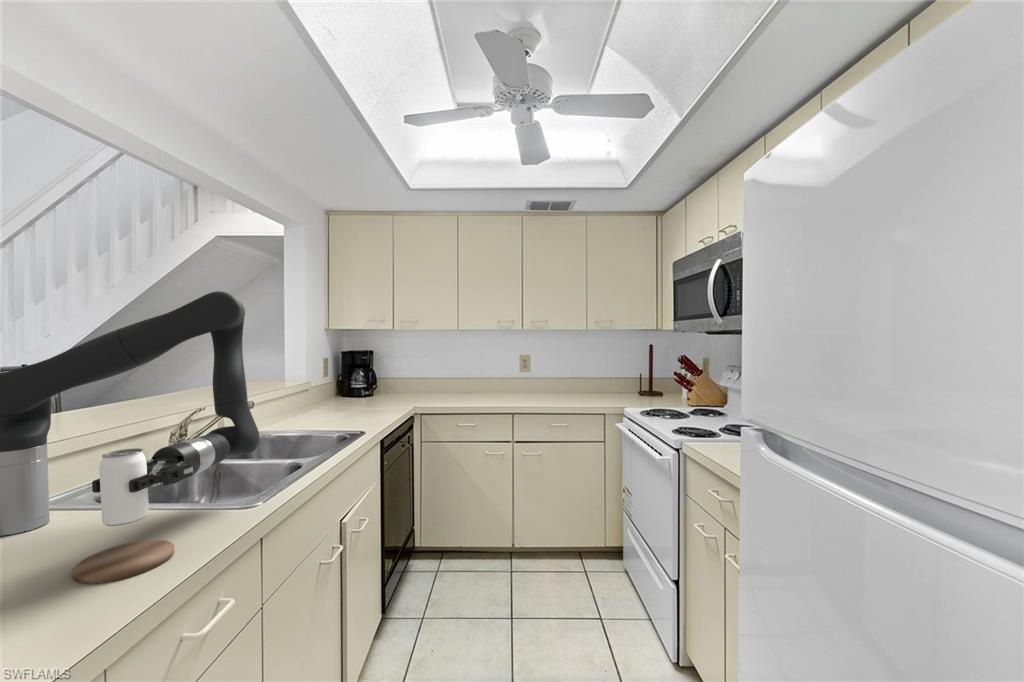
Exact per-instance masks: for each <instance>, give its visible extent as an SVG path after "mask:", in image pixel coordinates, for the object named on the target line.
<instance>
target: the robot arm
mask: <svg viewBox="0 0 1024 682" xmlns="http://www.w3.org/2000/svg"><path fill="white" fill-rule="evenodd" d="M245 317H246V310H245V307H244V305H243V303H242V302H241V301H240V300H239V299H238V298H237V297H236V296H234V295H233V294H232V293H230V292H226V291H212V292H209V293H206V294H204V295H202V296H200V297H198V298H197V299H194V300H192V301H190V302H188V303H186V304H184V305H182V306H180V307H177V308H176V309H174V310H171V311H169V312H166V313H163V314H160V315H157V316H153V317H151V318H147V319H143V320H140V321H138V322H135V323H132V324H129V325H125V326H124V327H121V328H118V329H115V330H112V331H110V332H107V333H105V334H104V333H103V334H101V335H99V336H97V337H95V338H92V339H90V340H88V341H85V342H83V343H80V344H78V345H76V346H73V347H72V348H70V349H66V350H65V351H62V352H61V353H59V354H57V355H55V356H53V357H49V358H47V359H44V360H41V361H38V362H36V363H32V364H30V365H26V366H22V367H19V368H15V369H11V370H8V371H5V372H0V536H1V537H2V536H8V535H9V536H10V535H15V534H19V533H24V531H25V532H28V531H32V530H35V529H38V528H40V527H43V526H45V525H46V524H48V523H49V522H50V519H51V518H50V488H49V485H50V484H49V459H48V435H49V431H50V428H51V425H52V424H51V423H52V397H53V396H56V395H58V394H60V393H62V392H65V391H68V390H70V389H74V388H78V387H80V386H84V385H88V384H91V383H94V382H95V383H96V382H98V381H103V380H105V379H108V378H111V377H114V376H117V375H120V374H123V373H124V374H125V373H126V372H128V371H130V370H134V369H136V368H139V367H140V366H144V365H146V364H148V363H151V361H154V360H155V359H157V358H159V357H160V356H163V355H164V354H166V353H167V352H169V351H171V350H172V349H173V348H175V347H177V346H178V345H181V344H182V343H184V342H186V341H188V340H190V339H193V338H196V337H201V336H202V335H206V334H209V333H210V335H211V339H212V345H213V346H212V347H213V368H212V369H213V370H212V393H213V404H214V411H215V414H216V416H217V417H220V418H226V419H230V420H231V422H232V423H233V425H232V426H222V427H218V428H214V429H212V430H211V431H209V432H208V433H206V434H204V435H201V436H198V437H196V438H189V439H185V440H183V441H179V442H176V443H174V444H171V445H168V446H164V447H161V448H159V449H158V450H156V451H155V453H154V454H153V455H152V457H151V459H146V464H147V474H145V475H143V476H141V477H138V478H135V479H132V480H130V481H129V492H131V493H135V492H138V491H140V490H142V489H145V488H147V487H148V488H149V487H153V488H154V487H157V486H159V485H163V486H168V485H173V484H177V483H180V482H182V481H183V480H186V479H188V478H190V477H193V476H195V475H198V474H200V473H201V472H203V471H206V469H208V468H211V467H213V466H215V465H218V464H219V463H220V464H221V462H222V461H224V460H225V459H226V458H227V457H230V456H238V455H239V456H240V455H249V454H251V453H253V452H254V451H256V450H257V448H258V446H259V444H260V432H259V429H258V425H257V424H256V422H255V418H254V417H253V415H252V411H251V410H250V406H249V401H248V400H249V399H248V389H247V383H246V382H247V381H246V373H245V365H244V358H243V357H244V355H243V354H244V353H243V334H244V323H245ZM91 489H92V493H94V494H96V493H98V494H99V493H101V492H100V477H99V478H97V479H94V480H92V482H91Z"/></svg>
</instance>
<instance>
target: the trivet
mask: <svg viewBox="0 0 1024 682" xmlns="http://www.w3.org/2000/svg"><path fill="white" fill-rule="evenodd" d="M173 554H174V555H175V544H174V543H173V542H171V541H168V540H164V539H148V540H139V541H134V542H130V543H125V544H120V545H116V546H113V547H110V548H107V549H104V550H102V551H99V552H96V553H94V554H92V555H89V556H88V557H86V558H84V559H82V560H80V561H79V562H78V563H76V564H75V565H74V567H73V568H72V570H71V571H72V574H71V575H72V579H74V580H75V581H74V580H73V581H74V582H76V581H77V582H76V583H79V582H82V583H81V584H85V583H95V584H100V583H99V582H105V583H109V582H108V581H112V582H116V581H115V580H117V581H120V579H121V580H124V579H129V578H132V577H136V576H138V575H141V574H144V573H146V572H149V571H151V570H154V569H156V568H158V567H160V566H161V565H163V564H165V563H166V562H168V561H169V560H170V559H171V558H172V557H173V556H174V555H173Z"/></svg>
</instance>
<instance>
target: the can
mask: <svg viewBox="0 0 1024 682" xmlns="http://www.w3.org/2000/svg"><path fill="white" fill-rule="evenodd" d="M143 450H144V449H143V448H137V447H135V448H125V449H117V450H113V451H110V452H106V453H104V454H102V455H101V458H102V459H101V461H100V462H99V468H98V469H99V478H100V492H99V493H100V506H101V507H100V508H101V522H102V524H104V525H105V526H107V527H117V526H124V525H129V524H132V523H136V522H138V521H140V520H143V519H144V518H146V517H147V515H148V514H149V513H150V512H149V511H150V509H149V508H150V506H149V487H147V488H145V489H142V490H140V491H138V492H135V493H131V492H129V481H130V480H132V479H135V478H138V477H141V476H143V475H145V474H147V464H146V460H147V456H145V454H144V453H143Z"/></svg>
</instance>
